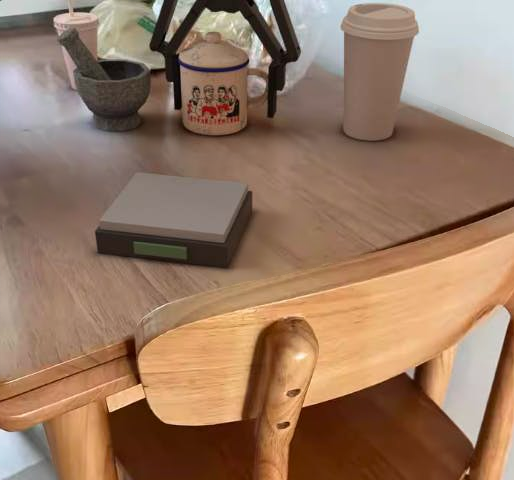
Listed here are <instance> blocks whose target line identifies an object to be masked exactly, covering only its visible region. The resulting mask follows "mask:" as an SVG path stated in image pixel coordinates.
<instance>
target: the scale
mask: <svg viewBox="0 0 514 480" xmlns="http://www.w3.org/2000/svg"><path fill="white" fill-rule="evenodd" d="M252 213H253V190H249V183H248V182H237V181H227V180H218V179H209V178H208V179H207V178H197V177H190V176H189V177H188V176H177V175H170V174H169V175H168V174H167V175H166V174H157V173H150V172H149V173H148V172H135V174H134V175H133V176H132V177H131V179H130V180H129V181H128V182H127V184H126V185H125V186H124V188H123V189H122V191H120V193H119V194H118V195H117V197H116V198H115V200H114V201H112V203H111V204H110V206H109V207H108V208H107V210H106V211H105V212H104V213H103V215H102V216H101V217H100V219H99V220H98V221H99V225H98V226H97V228H96V229H95V231H94V236H95V243H96V251H97V253H98V254H106V255H113V256H122V257H132V258H139V259H149V260H155V261H156V260H157V261H164V262H172V263H182V264H189V265H198V266H199V265H200V266H207V267H215V268H224V269H228V267H229V265H230V263H231V261H232V259H233V256H234V254H235V252H236V249H237V247H238V245H239V243H240V240H241V238H242V235H243V234H244V231H245V228H246V226H247V225H248V222H249V220H250V217H251V214H252Z"/></svg>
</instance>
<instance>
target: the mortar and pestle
mask: <svg viewBox="0 0 514 480" xmlns="http://www.w3.org/2000/svg"><path fill="white" fill-rule="evenodd" d="M57 41H58V43H59V45H60V46H61V45H62V46H64V47H65V49H66V50H67V52H68V54H69V55H70V57H71V59H72V60H73V62H74V63H75V65H76V67H77V68H76V69H75V70H73V74H74V81H75V85H76V88H77V90H76V92H77V94H78V96H79V97H80V98H81V100H82V102H83V103H84V105H85V106H86V108H87V109H88V110H89V111H90V112H91V113H93V116H92V120H93V122H92V123H93V124H94V126H95V128H96V129H100V130H102V131H107V132H123V131H128V130H131V129H135V128H137V127H138V126H139V125H140V124H141V116H140V113H139V110H140V109H141V108H142V107H143V106H144V105H145V104H146V102H147V100H148V98H149V95H150V93H151V88H152V87H151V86H152V74H151V69H150V68H149V67H148V66H147V65H146V64H145V63H144V62H140V61H137V60H136V61H135V60H130V59H127V58H126V59H125V58H123V59H122V58H121V59H118V58H117V59H115V58H114V59H113V58H112V59H109V58H108V59H99V60H98V59H97V60H96V59H95V58H94V56H93V55H92V54H91V52H90V51H89V50H88V48H87V47H86V46H85V44H84V43H83V42H82V40H81V39H80V38H79V33H78V31H77V30H76V29H75V28H70V29H68V30H66V31H64V32H63V33H62V34H61V35H60V36H59V35H58V37H57ZM62 46H61V47H62Z"/></svg>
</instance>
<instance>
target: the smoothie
mask: <svg viewBox="0 0 514 480" xmlns="http://www.w3.org/2000/svg"><path fill="white" fill-rule="evenodd" d="M67 5H68V12H66V13H60V14H58V15H55V17H53V27H54V28H55V29H56V30H57V34H58V37H59V36H60V35H61V34H62V33H63V32H64V31H66V30H68V29H70V28H75V29H76V30H77V31H78V33H79V38H80V39H81V40H82V42H83V43H84V44H85V46H86V47H87V48H88V50H89V51H90V52H91V54H92V55H93V56H94V58H95V59H96V60H97V61H98V27H100V25H101V24H100V20H99V19H100V18H99V16H98V15H97V14H95V13H90V12H82V11H81V12H80V11H77V12H74V5H73V0H67ZM60 46H61V49H62V54H63V58H64V62H65V66H66V69H67V73H68V77H69V80H70V85H71V88H72V89H73V90H75V91H77V88H76V85H75V81H74V74H73V70H75V69H76V68H77V67H76V65H75V63H74V62H73V60H72V59H71V57H70V55H69V54H68V52H67V50H66V49H65V47H64V46H62V45H60Z"/></svg>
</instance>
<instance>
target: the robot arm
mask: <svg viewBox="0 0 514 480" xmlns="http://www.w3.org/2000/svg"><path fill="white" fill-rule="evenodd" d="M178 2H179V0H163V2H162V4H161V8H160V10H159V14H158V16H157V20H156V23H155V26H154V29H153V32H152V35H151V38H150V41H149V44H148V46H149V50H150V51H151V52H154V53H155V52H157V53H159V54H161V55H162V56H163V58H164V59H163V60H164V71H165V79H166V82H167V83H172V89H173V90H172V91H173V107H174V108H173V109H174V110H175V111H180V110H182V94H181V72H180V64H179V62H178V58H179V55H180V53H181V52H177V51H178V50H179V49H180V47H181V45H182V44H183V42H184V41H185V39H186V38H187V36H188V35H189V34H190V32H191V30H192V29H193V27H194V26H195V25H196V23H197V22H198V20H199V18H200V17H201V16H202V15H203V12H205V10H206V9H207V10H208V11H209V12H210V13H219V12H223V13H228V14H232V15H233V14H234V15H235V14H236V13H239V12H240V14H241V15H242V17H243V19H244V20H246V21H247V23H248V24H249V26H250V27H251V29H252V30H253V32H254V33H255V35H256V37H257V38H258V40H259V42H260V43H261V44H262V46H263V47H264V49H265V51H266V52H267V54H268V56H269V57H270V58H271V62H270V63H269V65H268V68H267V69H268V70H267V71H268V72H267V74H268V98H267V108H266V118H267V119H274V117H275V115H276V113H277V106H278V105H277V104H278V92H282V91H283V90H284V88H285V85H286V80H287V79H286V77H287V64H289V63H296V62H297V61H298V60H299V58H300V56H301V55H302V49H301V46H300V43H299V40H298V37H297V34H296V31H295V28H294V25H293V22H292V20H291V16H290V13H289V10H288V7H287V4H286V1H285V0H269V5H270V8H271V11H272V14H273V16H274V19H275V22H276V26H277V28H278V32H279V34H280V36H281V40H282V43H283V46H284V47H283V46H282V45H281V43H280V41H279V39H278V38H277V36H276V35H275V33H274V32H273V30H272V28H271V27H270V25H269V24H268V22H267V20H266V19H265V17H264V16H263V14H262V13H261V11H260V9H259V6H258V4H257V2H256V1H255V0H195V1H194V3H193V5H192V6H191V7H190V9H189V11H188V12H187V14H186V16H185V17H184V18H183V20H182V22H181V23H180V24H179V26H178V27H177V29H176V30H175V32H174V33H173V35H172V37H171V38H170V40H169V41H166V38H167V35H168V32H169V29H170V26H171V23H172V21H173V17H174V14H175V12H176V9H177V5H178ZM284 48H285V49H284Z"/></svg>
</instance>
